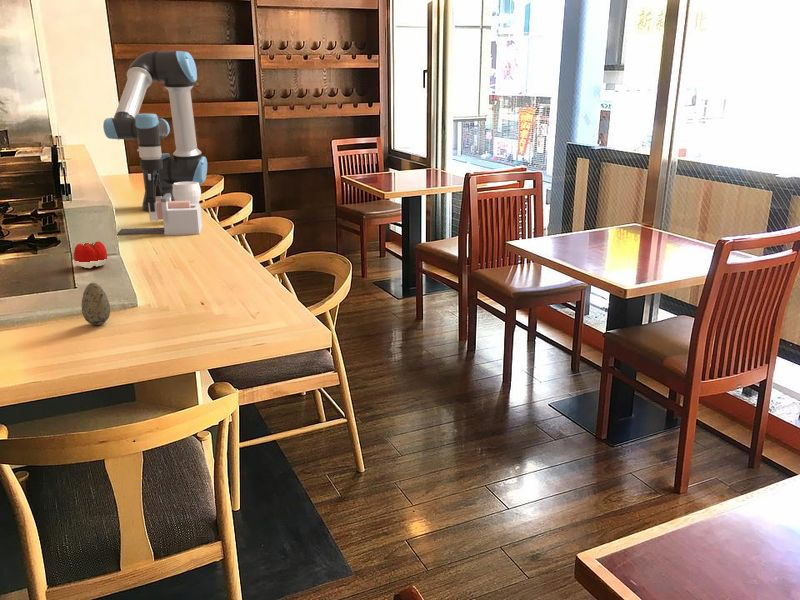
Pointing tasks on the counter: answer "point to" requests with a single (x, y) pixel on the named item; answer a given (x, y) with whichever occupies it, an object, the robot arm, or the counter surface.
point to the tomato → (90, 252)
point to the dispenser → (181, 218)
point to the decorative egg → (95, 305)
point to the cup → (187, 192)
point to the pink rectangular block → (172, 206)
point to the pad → (141, 231)
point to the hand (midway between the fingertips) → (157, 217)
